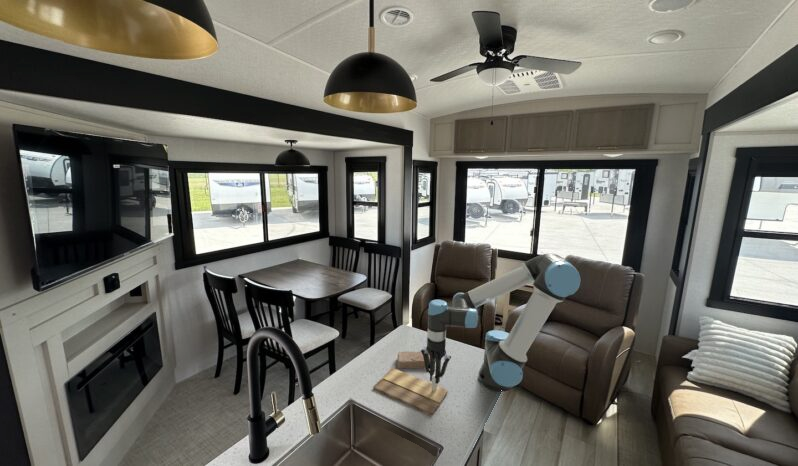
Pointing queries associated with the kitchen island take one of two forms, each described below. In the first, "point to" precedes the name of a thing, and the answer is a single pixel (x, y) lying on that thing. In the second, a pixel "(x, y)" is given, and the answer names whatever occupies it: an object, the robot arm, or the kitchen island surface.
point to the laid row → (406, 397)
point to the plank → (415, 385)
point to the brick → (411, 360)
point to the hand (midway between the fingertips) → (434, 388)
